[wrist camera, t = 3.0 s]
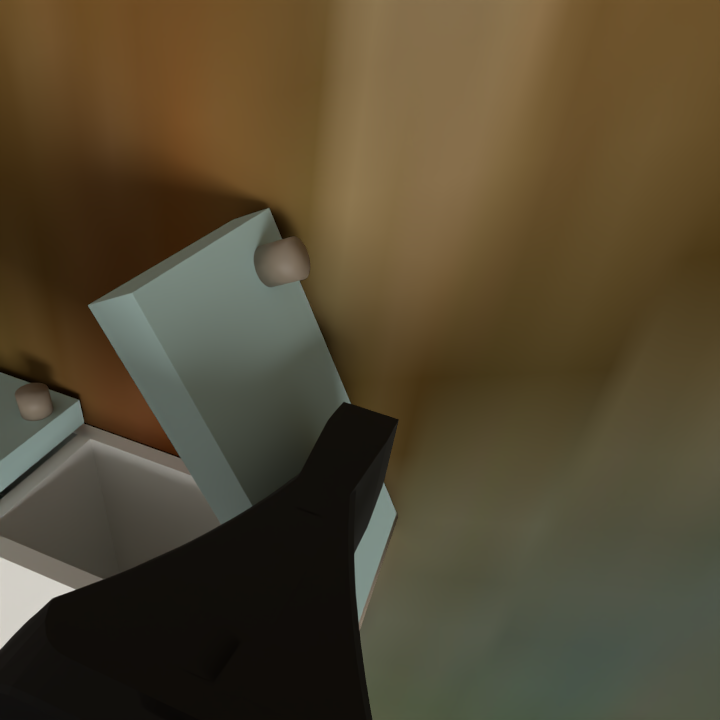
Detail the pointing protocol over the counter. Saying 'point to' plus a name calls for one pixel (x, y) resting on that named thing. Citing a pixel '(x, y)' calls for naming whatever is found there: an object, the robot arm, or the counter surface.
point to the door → (237, 369)
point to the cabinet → (80, 501)
